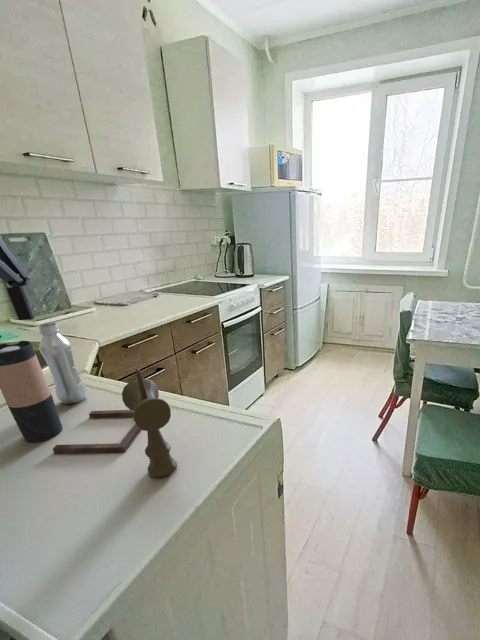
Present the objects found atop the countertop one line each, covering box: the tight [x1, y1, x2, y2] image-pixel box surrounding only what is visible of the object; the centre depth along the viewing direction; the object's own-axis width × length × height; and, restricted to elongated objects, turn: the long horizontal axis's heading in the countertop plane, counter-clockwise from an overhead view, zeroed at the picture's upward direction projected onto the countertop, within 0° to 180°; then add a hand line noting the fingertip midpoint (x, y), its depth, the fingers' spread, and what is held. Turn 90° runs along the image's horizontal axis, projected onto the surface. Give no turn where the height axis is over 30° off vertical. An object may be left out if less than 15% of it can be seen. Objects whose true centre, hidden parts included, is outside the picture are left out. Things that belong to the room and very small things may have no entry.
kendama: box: [121, 368, 178, 478], centre depth 59 cm, size 6×10×20 cm, turn 33°
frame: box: [52, 409, 142, 455], centre depth 76 cm, size 14×15×1 cm
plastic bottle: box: [38, 322, 88, 405], centre depth 86 cm, size 6×7×20 cm
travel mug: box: [0, 340, 63, 444], centre depth 72 cm, size 8×8×20 cm
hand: (1, 329), depth 67 cm, fingers open, 13 cm apart
